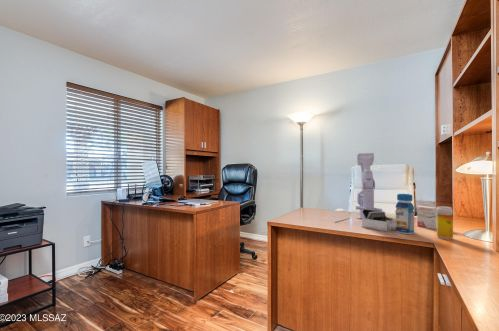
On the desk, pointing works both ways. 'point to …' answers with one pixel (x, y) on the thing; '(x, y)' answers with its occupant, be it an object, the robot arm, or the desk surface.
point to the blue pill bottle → (404, 214)
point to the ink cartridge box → (426, 214)
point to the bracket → (379, 224)
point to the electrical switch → (377, 216)
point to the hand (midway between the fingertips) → (368, 223)
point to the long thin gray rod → (342, 220)
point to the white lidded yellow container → (444, 222)
